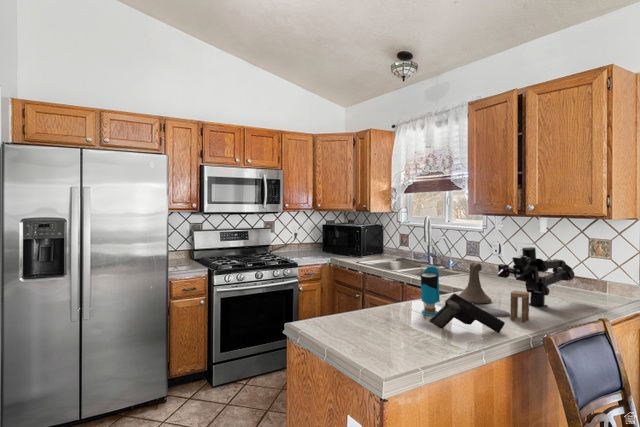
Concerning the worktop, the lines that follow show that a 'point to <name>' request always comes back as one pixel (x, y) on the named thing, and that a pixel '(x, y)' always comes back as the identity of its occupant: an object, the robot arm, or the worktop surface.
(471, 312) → the handgun
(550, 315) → the worktop surface
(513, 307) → the stool
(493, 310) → the mat
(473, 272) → the sculpture
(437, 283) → the security camera
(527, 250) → the robot arm
